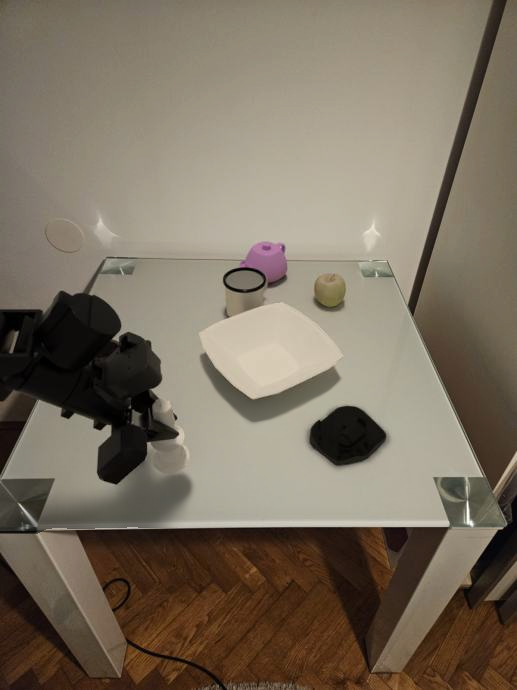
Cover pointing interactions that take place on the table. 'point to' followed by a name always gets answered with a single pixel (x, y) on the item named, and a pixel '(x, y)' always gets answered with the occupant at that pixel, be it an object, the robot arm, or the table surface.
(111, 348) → the holder
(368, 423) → the black low lumpy piece
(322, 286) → the fruit
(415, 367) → the table surface
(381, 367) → the table surface
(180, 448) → the candle
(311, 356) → the bowl
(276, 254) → the teapot
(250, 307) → the mug
